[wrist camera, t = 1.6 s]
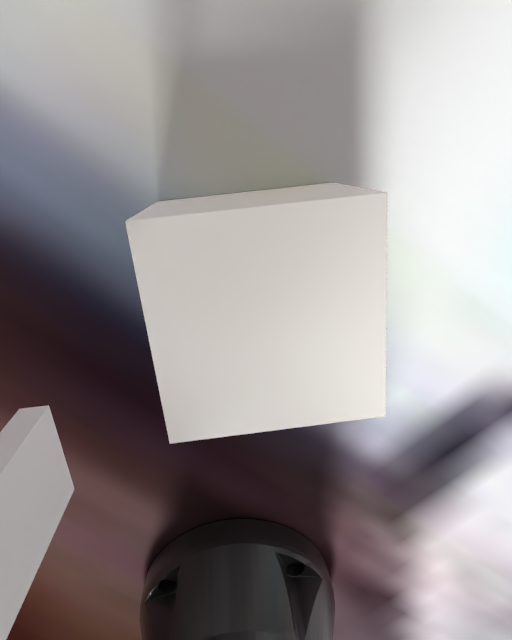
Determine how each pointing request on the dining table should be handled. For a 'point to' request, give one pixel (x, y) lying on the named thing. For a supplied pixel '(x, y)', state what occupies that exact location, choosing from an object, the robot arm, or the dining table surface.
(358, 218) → the white box
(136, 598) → the dining table surface
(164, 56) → the dining table surface
